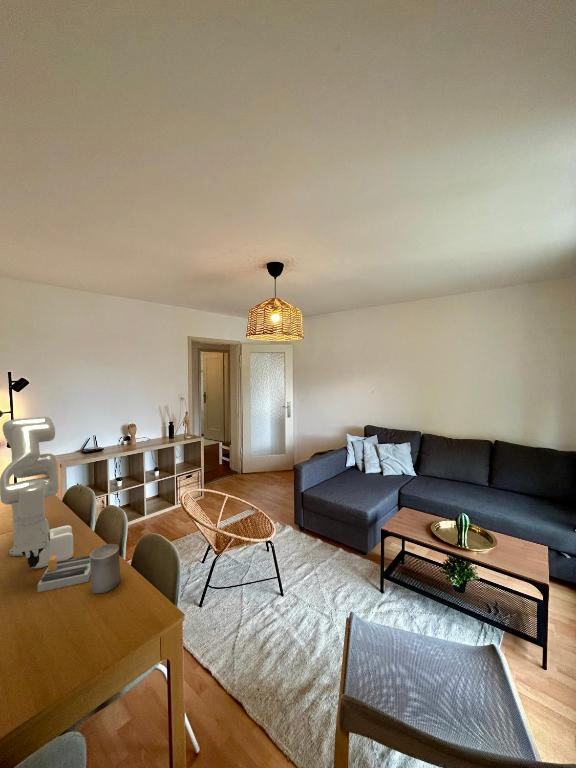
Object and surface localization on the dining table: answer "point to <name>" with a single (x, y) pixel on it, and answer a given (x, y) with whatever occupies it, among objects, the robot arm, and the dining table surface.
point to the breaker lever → (52, 564)
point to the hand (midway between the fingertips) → (33, 565)
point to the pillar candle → (105, 568)
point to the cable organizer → (57, 546)
